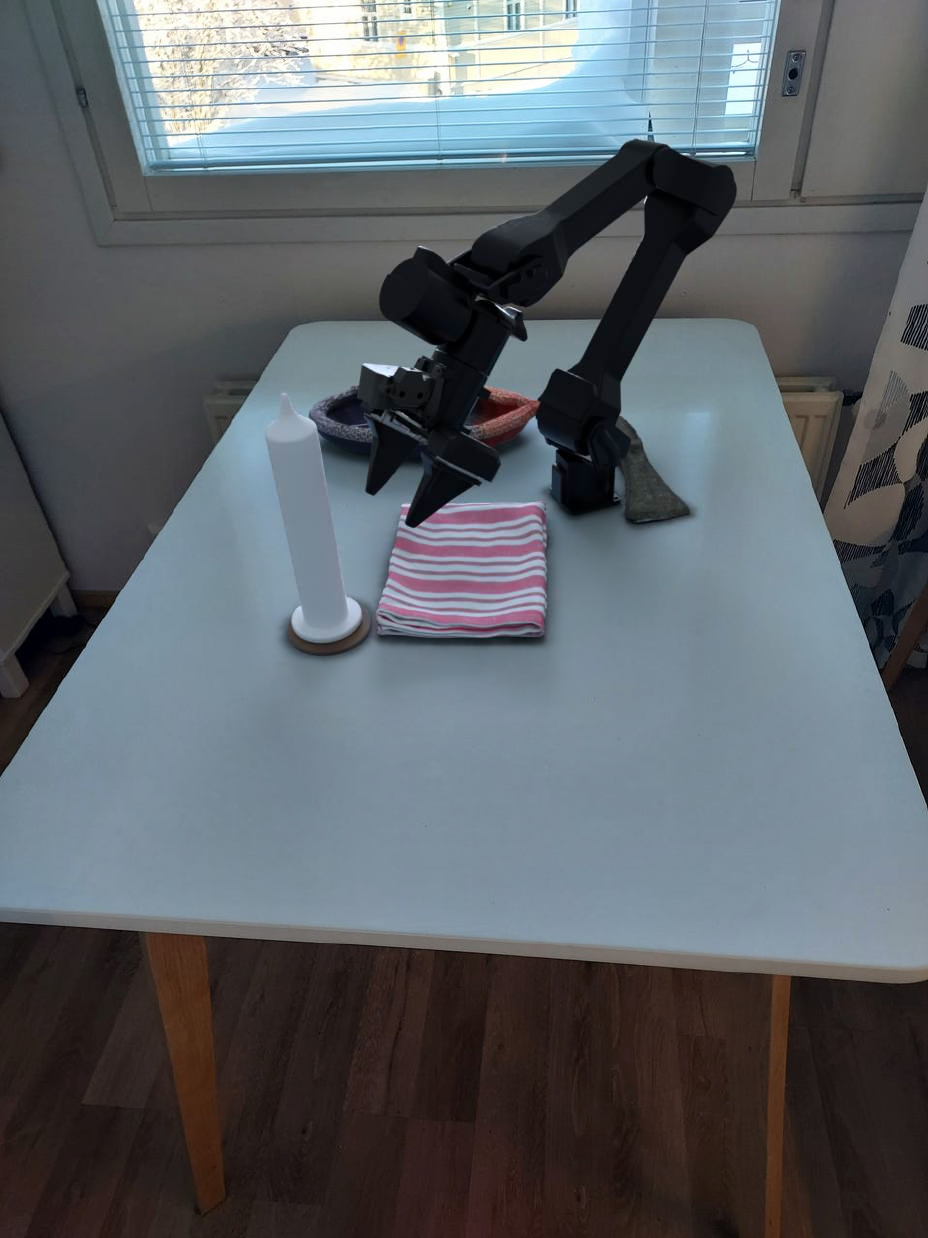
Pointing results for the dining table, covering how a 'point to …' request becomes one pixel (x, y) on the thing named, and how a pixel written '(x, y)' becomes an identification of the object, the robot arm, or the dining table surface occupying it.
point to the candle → (309, 529)
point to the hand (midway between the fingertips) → (388, 509)
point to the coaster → (337, 645)
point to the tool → (646, 484)
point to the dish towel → (468, 573)
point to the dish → (351, 431)
